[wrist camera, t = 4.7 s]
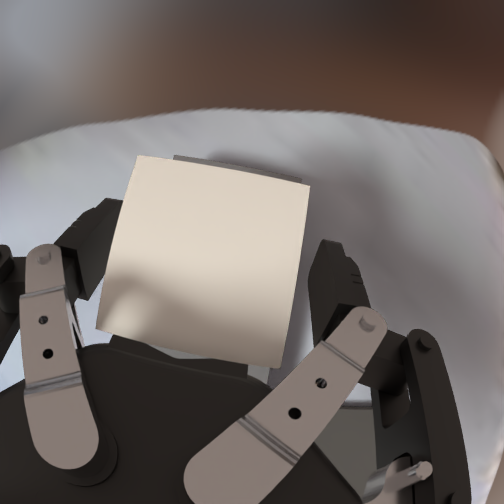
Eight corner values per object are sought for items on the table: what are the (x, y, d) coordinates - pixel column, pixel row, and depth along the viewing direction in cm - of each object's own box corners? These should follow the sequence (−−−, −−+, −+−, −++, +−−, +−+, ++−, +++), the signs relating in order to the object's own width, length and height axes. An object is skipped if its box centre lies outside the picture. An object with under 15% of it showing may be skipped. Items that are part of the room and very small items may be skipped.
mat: (247, 526, 14) (248, 531, 14) (280, 402, 16) (282, 405, 16) (380, 517, 15) (383, 521, 14) (425, 404, 17) (429, 406, 16)
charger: (163, 315, 16) (95, 328, 7) (181, 227, 17) (137, 155, 8) (251, 333, 16) (280, 369, 7) (267, 244, 17) (310, 185, 8)
